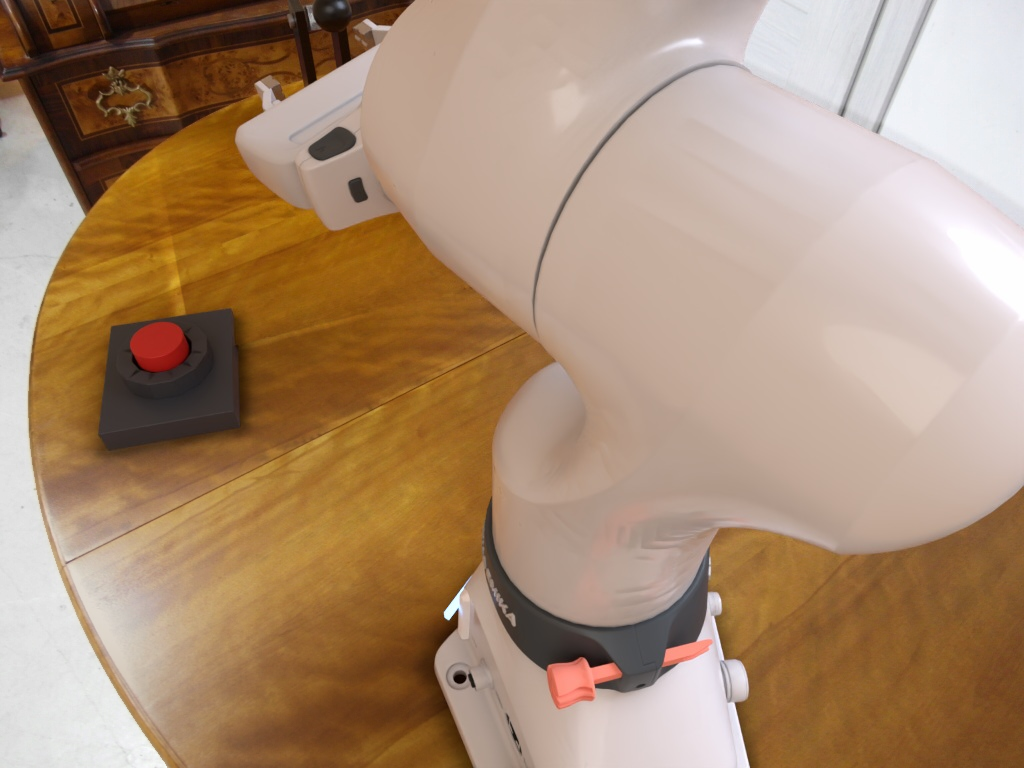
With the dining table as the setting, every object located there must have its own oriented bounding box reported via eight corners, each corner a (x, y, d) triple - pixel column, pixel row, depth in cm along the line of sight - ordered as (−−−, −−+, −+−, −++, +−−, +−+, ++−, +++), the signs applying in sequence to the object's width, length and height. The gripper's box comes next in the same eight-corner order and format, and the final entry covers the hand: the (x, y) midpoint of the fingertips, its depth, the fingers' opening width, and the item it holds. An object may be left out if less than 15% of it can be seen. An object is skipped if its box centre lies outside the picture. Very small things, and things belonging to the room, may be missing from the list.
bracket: (379, 141, 90) (363, 12, 79) (311, 155, 88) (284, 23, 76) (359, 104, 95) (342, -23, 84) (294, 116, 93) (267, -13, 82)
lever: (358, 29, 72) (349, -14, 71) (320, 35, 71) (310, -9, 70) (336, 33, 84) (328, -4, 82) (303, 38, 83) (294, 1, 82)
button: (189, 368, 61) (182, 352, 60) (136, 376, 61) (128, 361, 59) (189, 333, 64) (183, 317, 63) (138, 341, 63) (131, 325, 62)
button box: (240, 427, 62) (227, 395, 59) (108, 451, 60) (88, 419, 57) (237, 325, 70) (225, 292, 67) (120, 343, 68) (102, 310, 65)
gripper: (517, 34, 57) (407, -38, 63) (283, 181, 51) (187, 86, 57) (524, 105, 62) (422, 32, 68) (313, 244, 57) (223, 151, 63)
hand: (313, 58), depth 63 cm, fingers open, 8 cm apart
